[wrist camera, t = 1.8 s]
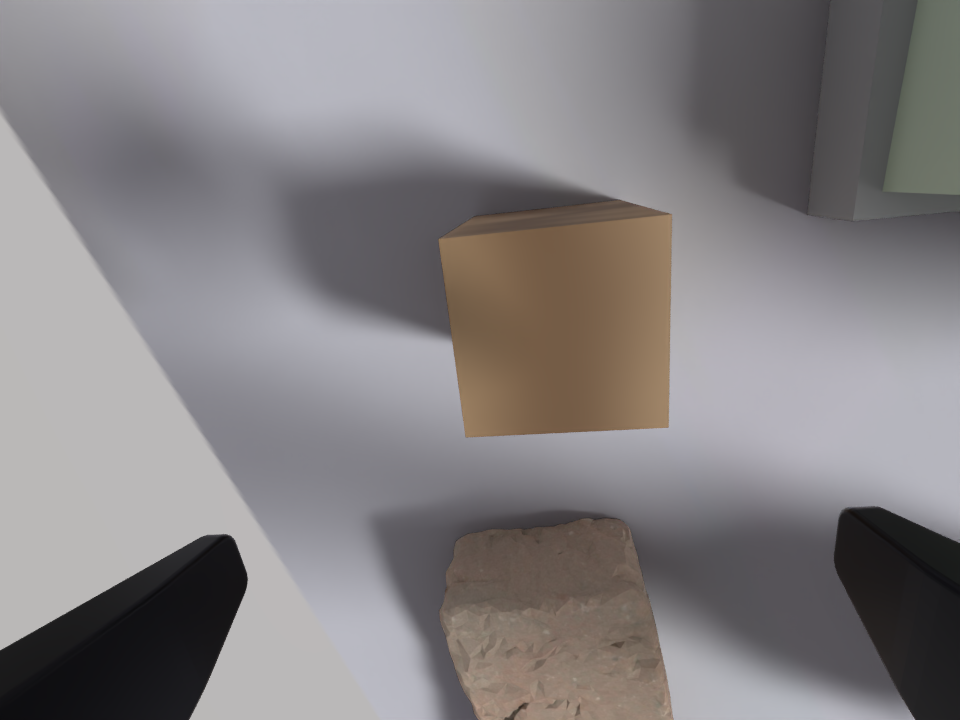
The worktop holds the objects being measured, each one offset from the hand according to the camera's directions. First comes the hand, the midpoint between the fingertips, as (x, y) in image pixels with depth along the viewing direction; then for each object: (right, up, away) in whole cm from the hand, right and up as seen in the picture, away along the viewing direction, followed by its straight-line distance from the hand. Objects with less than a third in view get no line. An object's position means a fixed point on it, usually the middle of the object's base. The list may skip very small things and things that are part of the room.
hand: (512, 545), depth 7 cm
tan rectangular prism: (+2, +6, +11) cm, 12 cm away
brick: (+4, -12, +17) cm, 21 cm away
